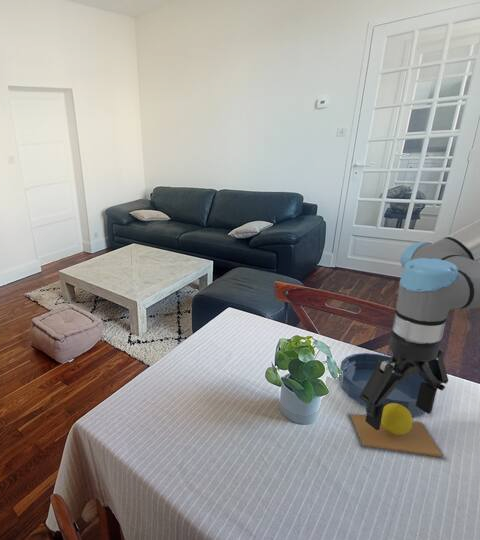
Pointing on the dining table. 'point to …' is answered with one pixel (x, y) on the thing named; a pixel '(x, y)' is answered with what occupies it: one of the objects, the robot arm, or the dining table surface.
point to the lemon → (396, 419)
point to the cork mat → (396, 438)
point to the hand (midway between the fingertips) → (398, 417)
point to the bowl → (361, 370)
